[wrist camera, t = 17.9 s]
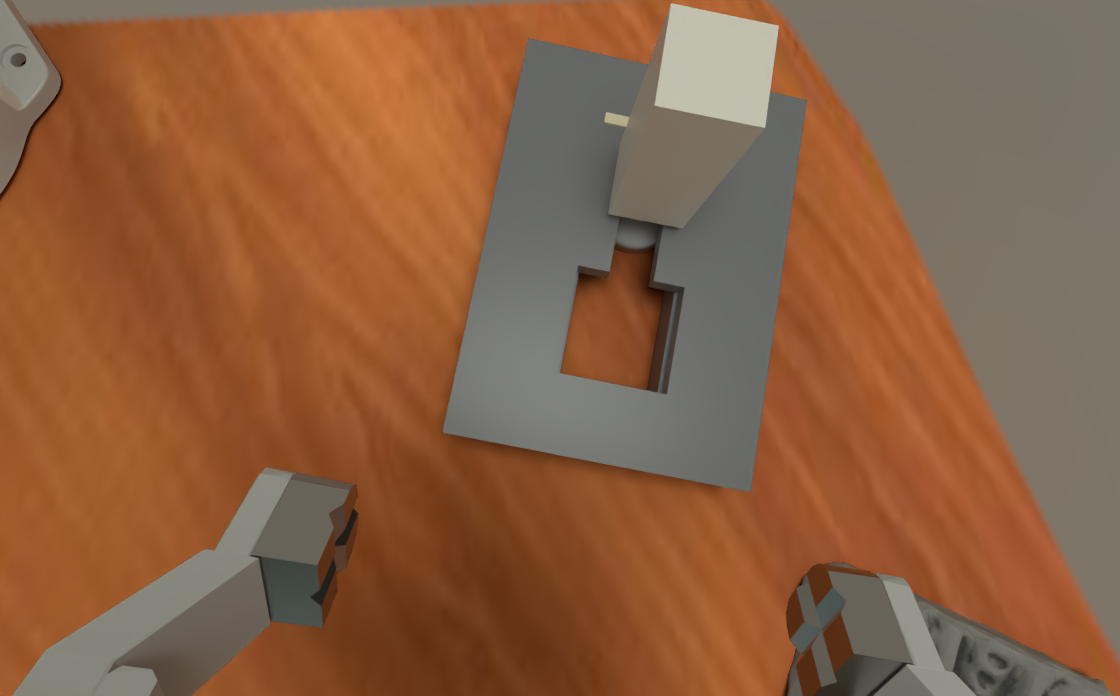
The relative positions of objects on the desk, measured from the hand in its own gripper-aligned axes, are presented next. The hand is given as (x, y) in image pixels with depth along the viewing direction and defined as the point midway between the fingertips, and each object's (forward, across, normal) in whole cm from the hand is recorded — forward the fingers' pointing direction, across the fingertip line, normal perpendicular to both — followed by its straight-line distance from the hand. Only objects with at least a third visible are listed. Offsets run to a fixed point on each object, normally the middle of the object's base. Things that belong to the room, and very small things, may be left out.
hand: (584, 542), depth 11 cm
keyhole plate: (+26, -3, +10) cm, 28 cm away
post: (+29, -3, +7) cm, 30 cm away
